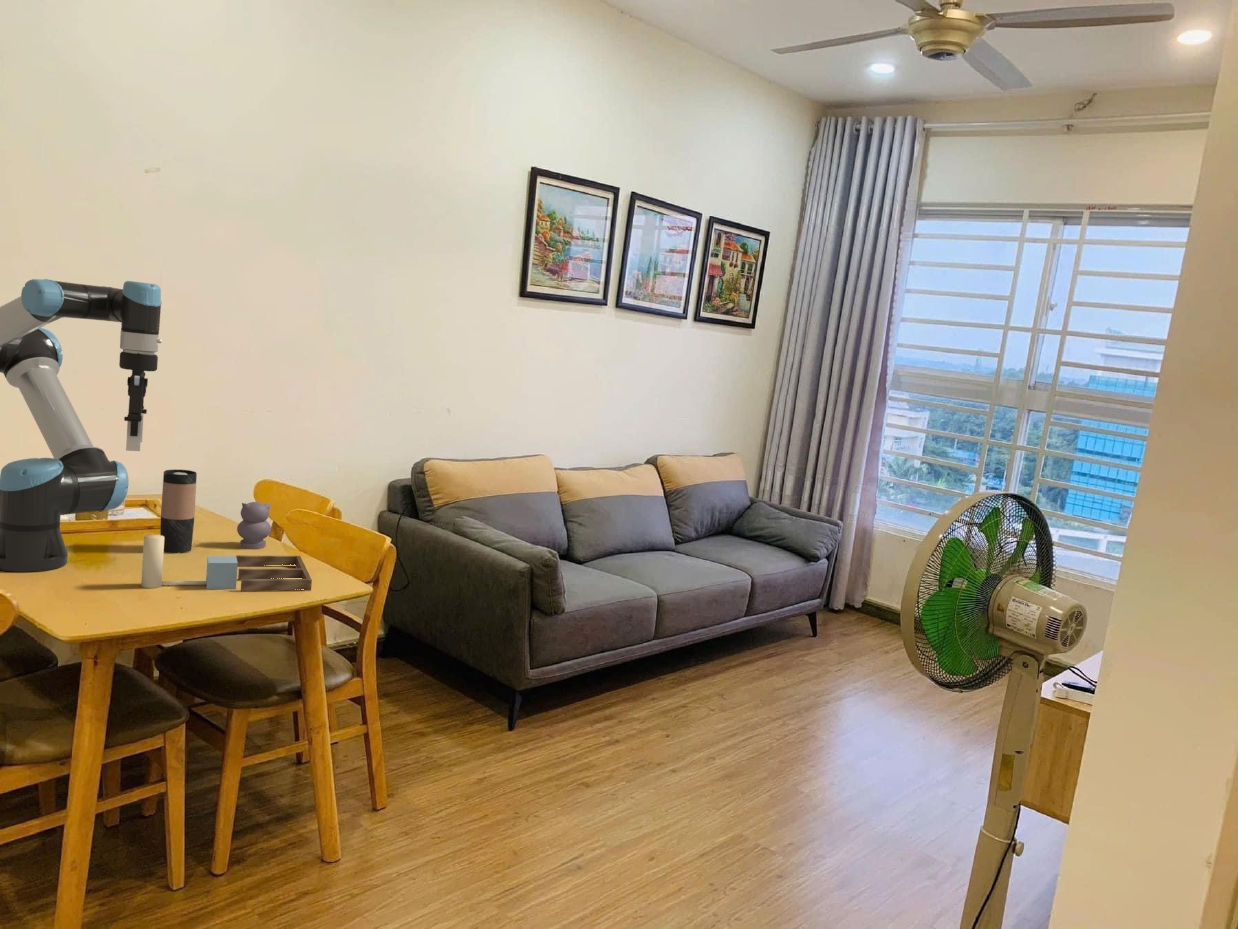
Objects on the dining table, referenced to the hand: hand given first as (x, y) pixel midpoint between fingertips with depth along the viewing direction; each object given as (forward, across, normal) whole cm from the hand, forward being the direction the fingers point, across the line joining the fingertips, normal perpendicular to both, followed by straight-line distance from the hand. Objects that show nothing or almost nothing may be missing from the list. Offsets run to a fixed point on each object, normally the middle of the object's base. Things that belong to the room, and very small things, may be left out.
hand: (134, 446), depth 206 cm
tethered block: (+29, -13, -13) cm, 34 cm away
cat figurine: (+29, +23, -28) cm, 47 cm away
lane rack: (+29, -8, -30) cm, 43 cm away
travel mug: (+29, +18, -10) cm, 36 cm away
